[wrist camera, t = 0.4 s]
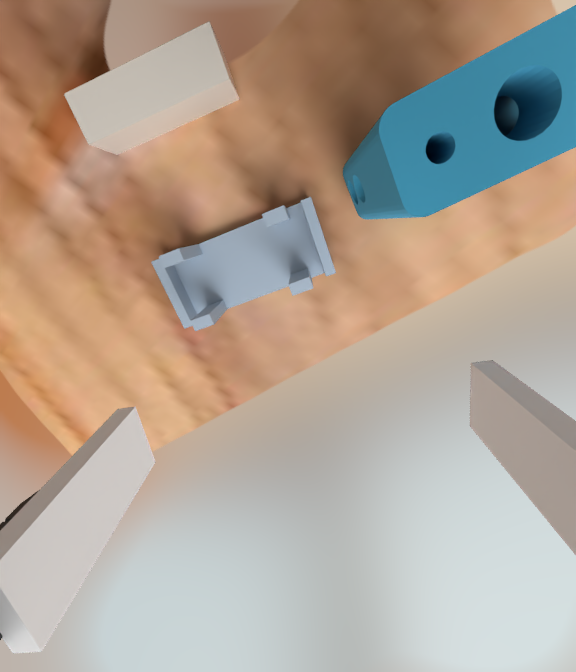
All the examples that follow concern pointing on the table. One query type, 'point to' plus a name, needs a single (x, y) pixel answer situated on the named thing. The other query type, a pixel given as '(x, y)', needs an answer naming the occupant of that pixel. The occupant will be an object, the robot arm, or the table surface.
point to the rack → (245, 264)
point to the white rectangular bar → (154, 92)
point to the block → (471, 127)
